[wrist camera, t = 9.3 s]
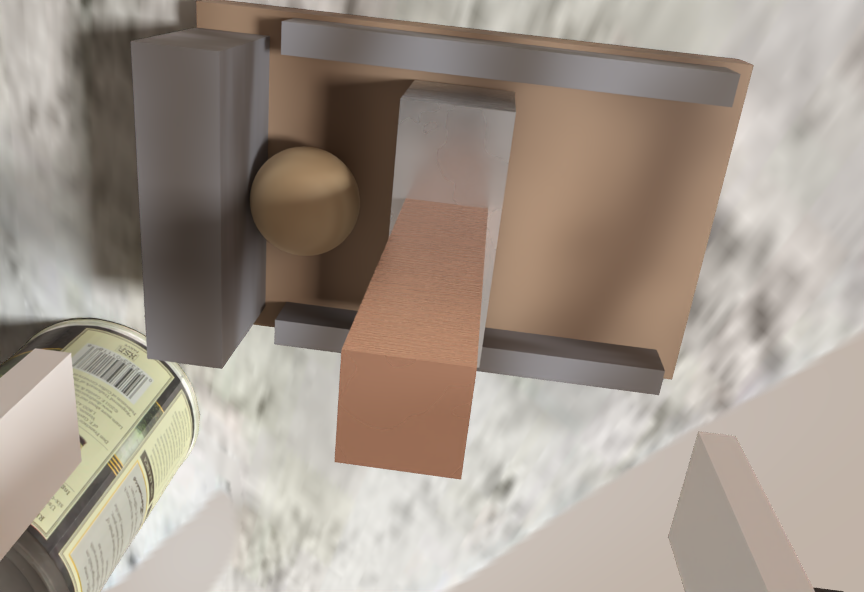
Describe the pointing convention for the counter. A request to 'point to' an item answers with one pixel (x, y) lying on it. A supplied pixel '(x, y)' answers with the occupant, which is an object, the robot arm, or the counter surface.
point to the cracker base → (374, 173)
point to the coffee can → (104, 457)
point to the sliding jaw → (428, 285)
